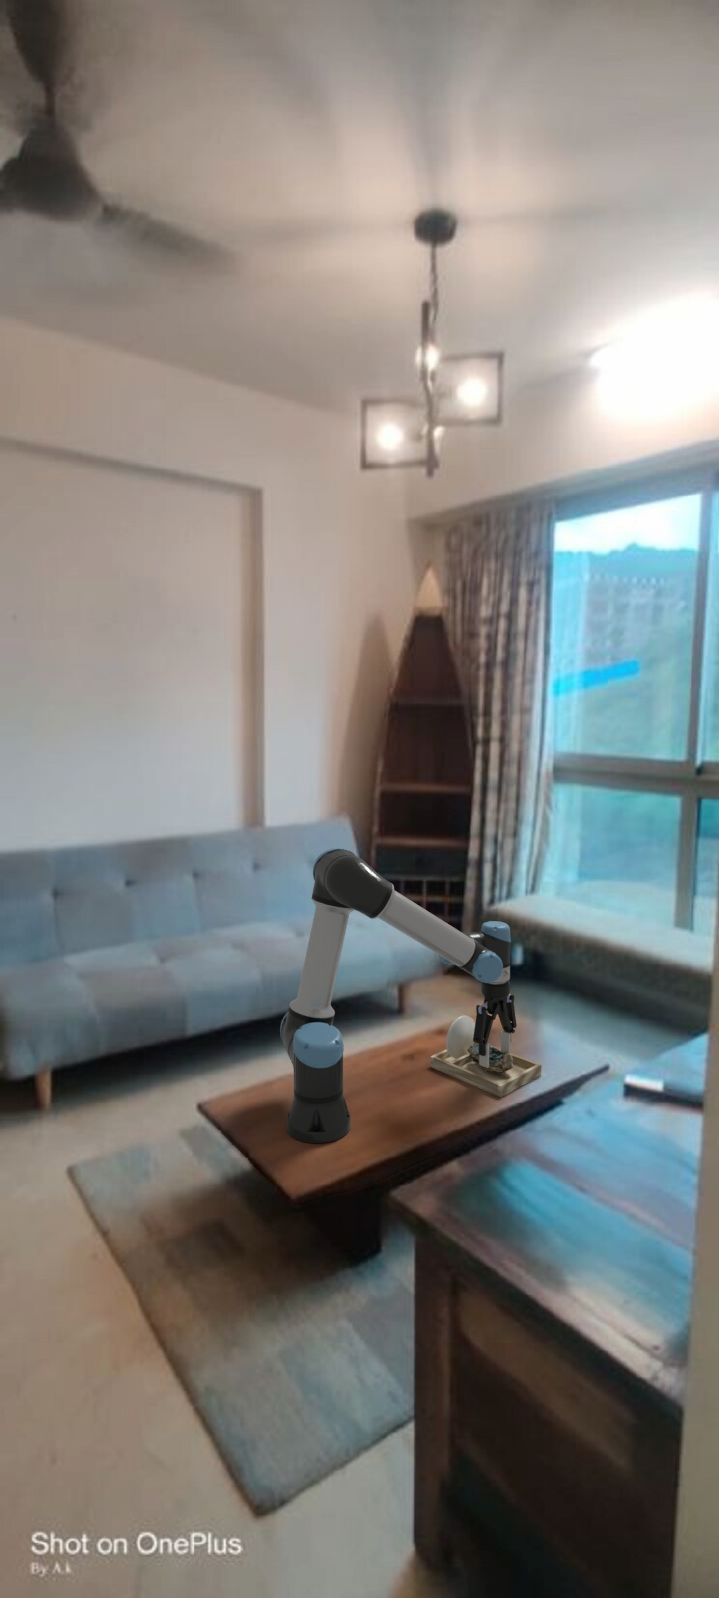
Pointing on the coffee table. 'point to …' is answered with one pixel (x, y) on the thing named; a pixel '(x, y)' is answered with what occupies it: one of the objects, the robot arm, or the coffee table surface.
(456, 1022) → the standing plate
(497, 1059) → the mineral specimen
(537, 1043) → the coffee table surface
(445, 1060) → the wooden tray
